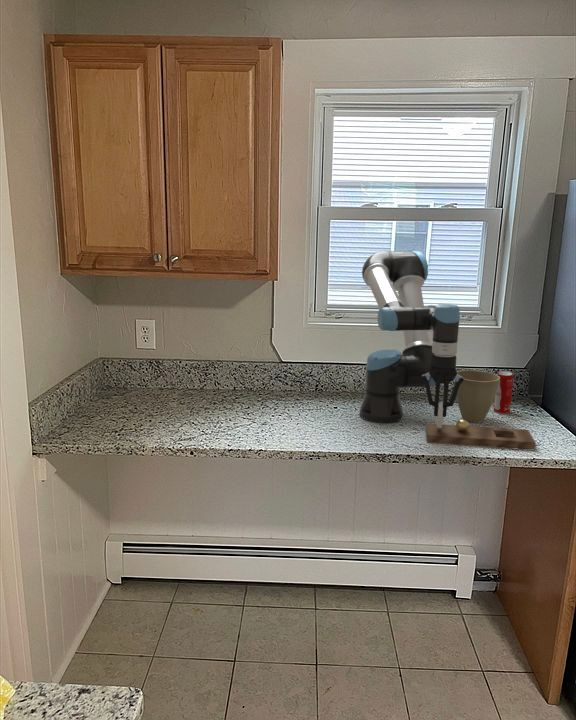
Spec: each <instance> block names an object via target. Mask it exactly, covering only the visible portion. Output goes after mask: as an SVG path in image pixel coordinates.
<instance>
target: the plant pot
mask: <svg viewBox="0 0 576 720" xmlns="http://www.w3.org/2000/svg"><path fill="white" fill-rule="evenodd" d="M457 374H458V375H460V376H462V377H463V379H464V381H463V382H462V383H461V384H460V386H459V389H458V392H457V395H456V398H457V399H456V400H457V403H458V408H459V412H460V415H461V419H465V420H467V421H468V423H476V424H477V423H483V422H484V421H485V419H486V417H487V415H488V414H489V413H490V409H491V407H492V405H493V404H494V398H495V395H496V391H497V388H498V384H499V380H500V377H499V376H498V375H497V374H495V373H492V372H488V371H483V370H473V369H472V370H471V369H469V370H468V369H466V370H465V369H464V370H458V371H457ZM455 378H456V377H455ZM455 378H454V379H455ZM455 382H456V381H455V380H454V383H455Z"/></svg>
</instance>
